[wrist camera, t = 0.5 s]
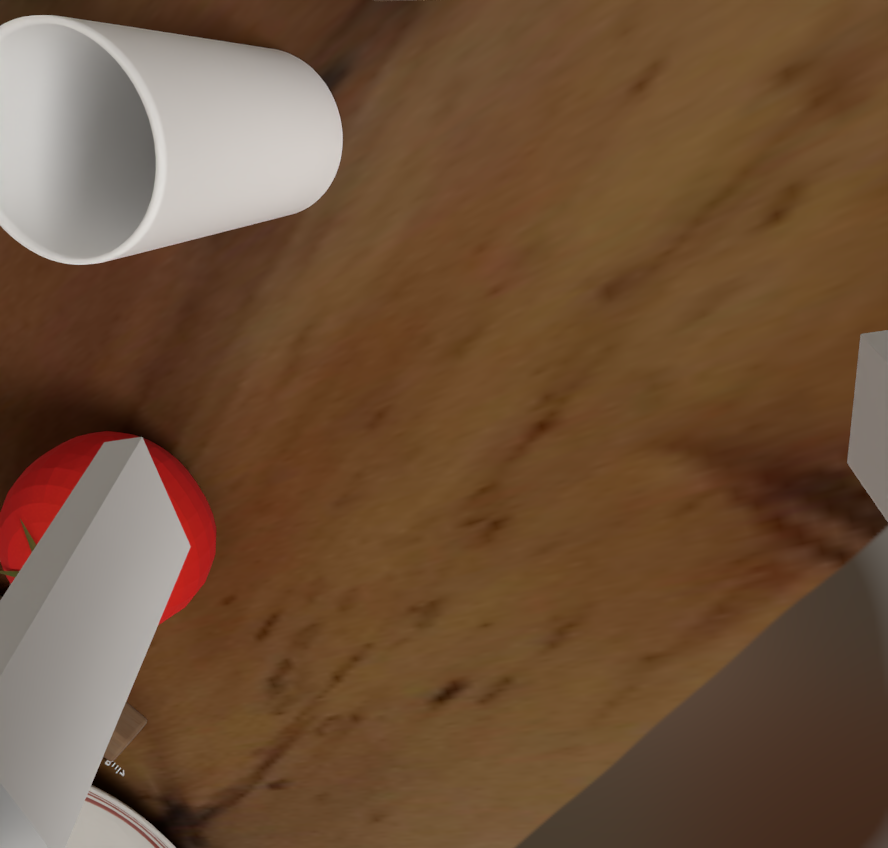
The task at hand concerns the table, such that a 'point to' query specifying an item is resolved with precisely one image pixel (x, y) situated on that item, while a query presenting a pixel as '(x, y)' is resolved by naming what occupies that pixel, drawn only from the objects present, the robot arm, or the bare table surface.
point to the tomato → (55, 480)
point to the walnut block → (394, 0)
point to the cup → (152, 137)
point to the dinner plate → (113, 825)
